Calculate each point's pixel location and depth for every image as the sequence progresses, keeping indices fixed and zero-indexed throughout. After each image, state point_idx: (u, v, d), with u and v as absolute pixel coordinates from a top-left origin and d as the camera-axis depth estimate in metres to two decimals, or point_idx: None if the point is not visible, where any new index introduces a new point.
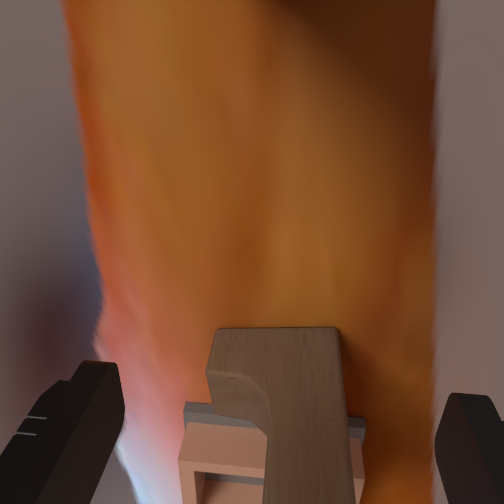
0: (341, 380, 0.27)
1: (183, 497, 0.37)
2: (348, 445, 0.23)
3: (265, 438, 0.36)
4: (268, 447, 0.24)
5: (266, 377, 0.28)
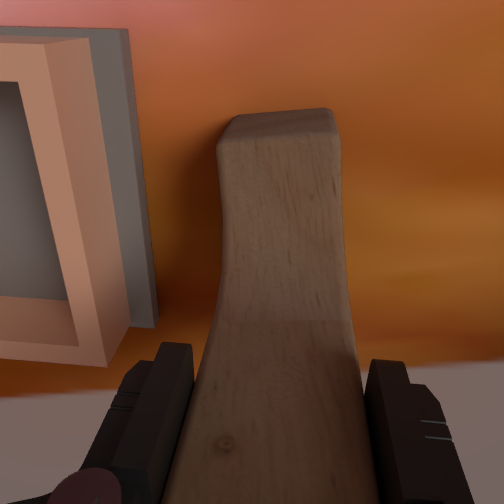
0: None
1: None
2: None
3: (105, 200, 0.20)
4: (351, 341, 0.13)
5: None
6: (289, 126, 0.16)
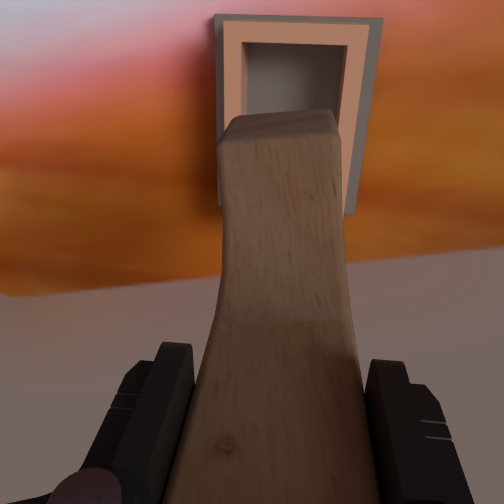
0: None
1: (287, 24, 0.28)
2: None
3: None
4: (352, 341, 0.13)
5: None
6: (289, 127, 0.16)
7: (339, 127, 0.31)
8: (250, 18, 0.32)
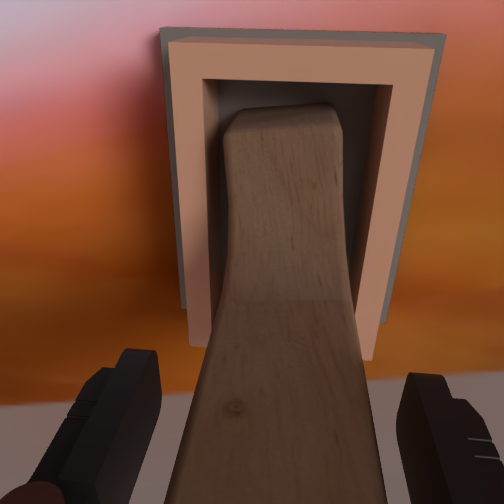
0: None
1: (284, 48, 0.16)
2: None
3: None
4: (352, 318, 0.13)
5: None
6: (293, 118, 0.17)
7: (373, 218, 0.18)
8: (220, 34, 0.19)
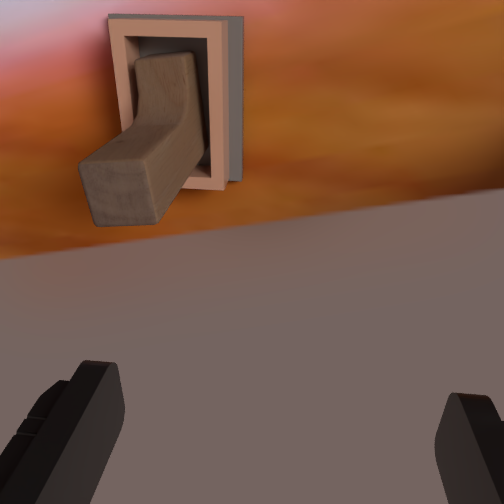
0: (197, 162, 0.39)
1: (158, 21, 0.35)
2: None
3: (227, 101, 0.41)
4: (176, 128, 0.33)
5: (191, 109, 0.37)
6: (167, 55, 0.37)
7: (210, 104, 0.38)
8: (137, 17, 0.39)
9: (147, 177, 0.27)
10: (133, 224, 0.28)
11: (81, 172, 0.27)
